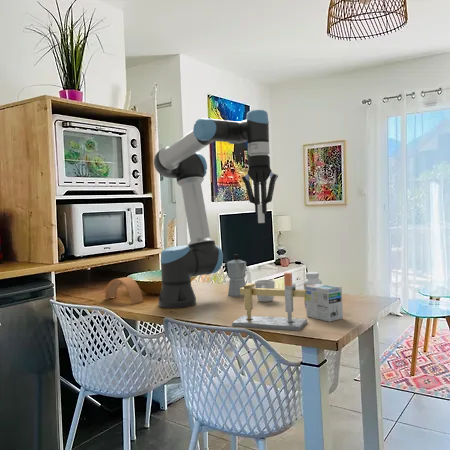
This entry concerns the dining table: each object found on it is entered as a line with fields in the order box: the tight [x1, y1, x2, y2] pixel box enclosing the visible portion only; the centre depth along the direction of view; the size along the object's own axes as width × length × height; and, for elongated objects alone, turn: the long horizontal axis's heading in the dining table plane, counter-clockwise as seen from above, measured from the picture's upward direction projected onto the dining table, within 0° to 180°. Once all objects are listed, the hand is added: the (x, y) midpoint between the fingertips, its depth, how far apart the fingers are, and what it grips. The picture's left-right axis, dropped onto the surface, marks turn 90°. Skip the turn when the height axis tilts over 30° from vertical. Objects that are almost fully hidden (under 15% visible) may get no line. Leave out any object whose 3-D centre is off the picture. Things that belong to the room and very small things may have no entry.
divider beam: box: [240, 282, 307, 319], centre depth 149 cm, size 22×5×11 cm, turn 66°
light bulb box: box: [305, 283, 344, 322], centre depth 154 cm, size 11×7×11 cm, turn 35°
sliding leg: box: [283, 272, 297, 321], centre depth 147 cm, size 2×6×15 cm, turn 157°
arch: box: [104, 276, 144, 305], centre depth 198 cm, size 6×20×10 cm, turn 47°
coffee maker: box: [224, 253, 247, 298], centre depth 201 cm, size 15×9×18 cm, turn 35°
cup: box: [254, 279, 276, 303], centre depth 184 cm, size 11×8×8 cm
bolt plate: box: [231, 314, 308, 331], centre depth 148 cm, size 22×10×1 cm, turn 66°
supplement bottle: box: [303, 271, 323, 308], centre depth 170 cm, size 7×7×13 cm
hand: (261, 222), depth 161 cm, fingers closed
